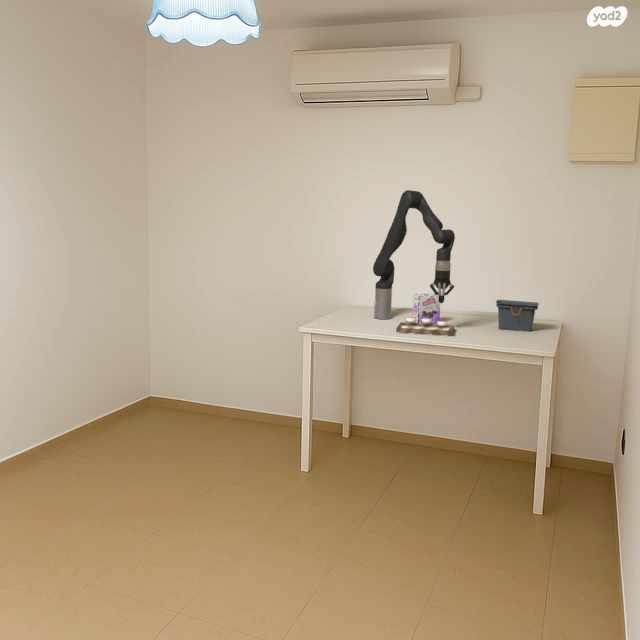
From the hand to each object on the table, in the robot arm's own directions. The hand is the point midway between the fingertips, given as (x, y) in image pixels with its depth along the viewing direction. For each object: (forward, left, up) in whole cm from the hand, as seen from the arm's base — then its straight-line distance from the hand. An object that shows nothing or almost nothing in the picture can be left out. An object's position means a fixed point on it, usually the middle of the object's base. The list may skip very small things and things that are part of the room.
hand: (441, 302), depth 343 cm
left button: (-15, 0, -11) cm, 18 cm away
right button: (+1, 0, -12) cm, 12 cm away
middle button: (-7, 0, -11) cm, 13 cm away
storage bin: (+38, +16, -15) cm, 44 cm away
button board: (-7, -3, -15) cm, 17 cm away
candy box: (-9, +20, -15) cm, 26 cm away
